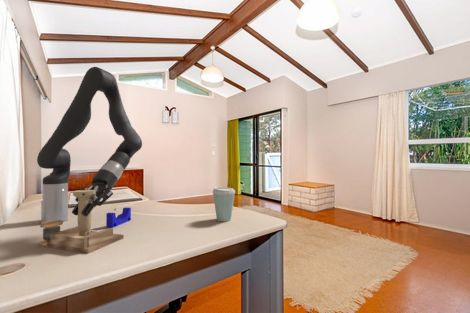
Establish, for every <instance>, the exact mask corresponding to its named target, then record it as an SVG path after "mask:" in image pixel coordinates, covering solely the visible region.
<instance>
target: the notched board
mask: <svg viewBox="0 0 470 313" xmlns="http://www.w3.org/2000/svg"><path fill="white" fill-rule="evenodd" d="M124 236H125V235H124V234H121V233H114V228H105V229H104V230H100V231H95V230H90V234H89V235H86V236H79V230H78V225H77V226H73V227H69V228H66V229H63V230H60V231H59V232H56V233H53V234H50V242H48V243H46V246H47V247H48V248H52V247H53V248H52V249H60V250H65V251H72V252H78V253H83V254H90V253H93V252H94V251H95V252H96V251H98V250H99V249H102V248H105V247H106V246H108V245H111V244H113V243H116V242H118V241H120V240H122V239H124ZM46 246H45V247H46Z"/></svg>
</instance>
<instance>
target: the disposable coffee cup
mask: <svg viewBox="0 0 470 313" xmlns="http://www.w3.org/2000/svg"><path fill="white" fill-rule="evenodd" d="M235 194H236V190H235V189H234V188H232V187H226V186H214V187H213V190H212V196H213V201H214V202H213V203H214V209H215V215H216V216H215V217H216V220H217V221H218V222H229V221H231V219H232V216H233V209H234V202H235Z"/></svg>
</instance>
